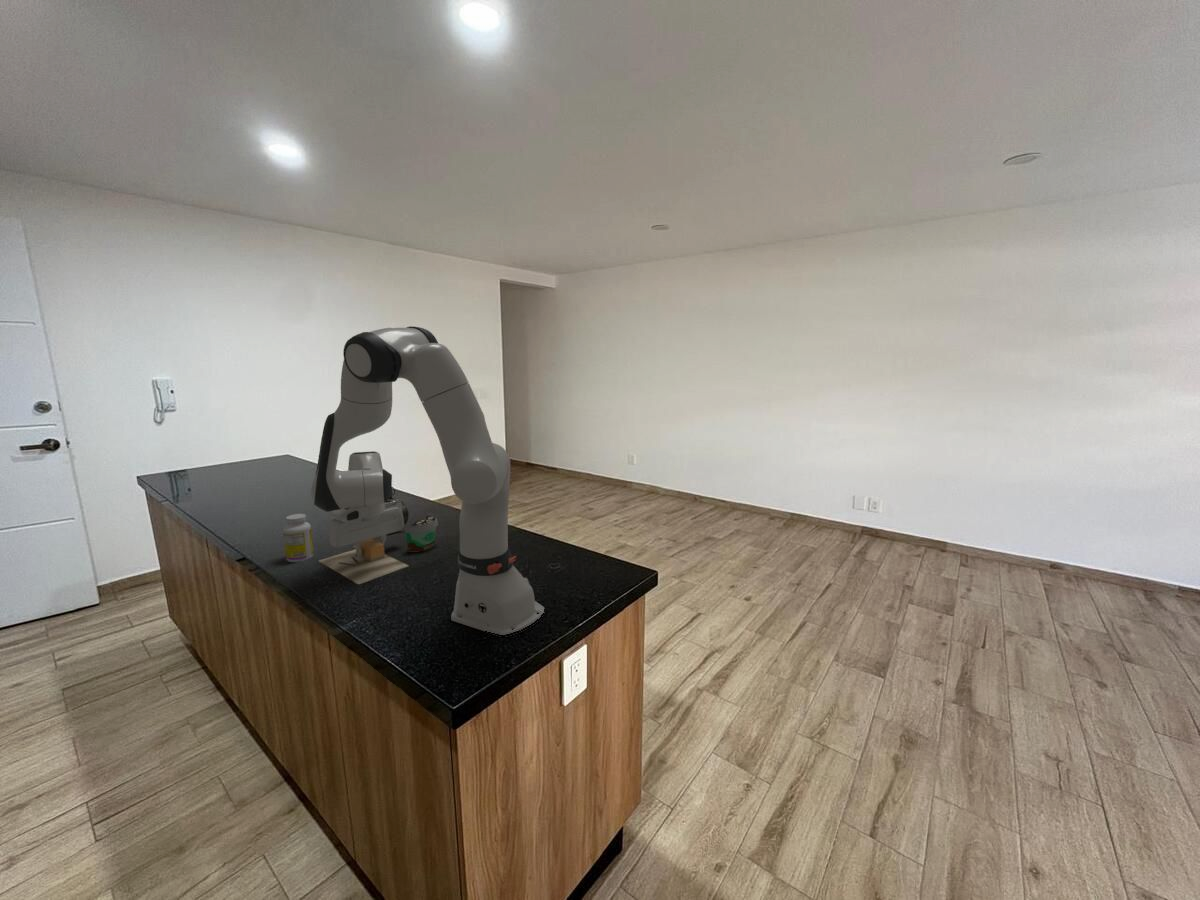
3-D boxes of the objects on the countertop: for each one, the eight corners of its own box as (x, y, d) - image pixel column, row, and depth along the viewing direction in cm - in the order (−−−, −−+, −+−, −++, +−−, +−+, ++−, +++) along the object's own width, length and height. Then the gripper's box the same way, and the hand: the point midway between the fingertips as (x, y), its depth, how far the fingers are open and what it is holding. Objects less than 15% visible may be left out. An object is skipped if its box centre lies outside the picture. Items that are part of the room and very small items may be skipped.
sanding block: (384, 557, 131) (383, 544, 130) (371, 561, 127) (370, 548, 127) (369, 550, 135) (368, 537, 134) (356, 554, 132) (355, 541, 131)
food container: (424, 560, 133) (423, 528, 131) (405, 558, 134) (404, 526, 132) (446, 544, 145) (445, 515, 143) (429, 542, 146) (428, 513, 144)
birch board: (409, 570, 126) (409, 565, 126) (359, 589, 115) (358, 584, 115) (367, 550, 138) (367, 545, 138) (318, 565, 127) (317, 560, 127)
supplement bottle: (302, 552, 136) (298, 511, 133) (319, 555, 134) (315, 514, 131) (280, 561, 129) (276, 518, 127) (297, 564, 127) (293, 521, 125)
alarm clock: (373, 533, 152) (370, 486, 149) (384, 527, 157) (382, 482, 154) (401, 537, 150) (399, 490, 147) (412, 531, 155) (410, 485, 152)
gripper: (395, 496, 139) (397, 539, 141) (324, 513, 122) (328, 561, 124) (407, 501, 135) (409, 544, 138) (336, 518, 118) (339, 567, 121)
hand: (370, 552), depth 131 cm, fingers closed on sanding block, 4 cm apart
